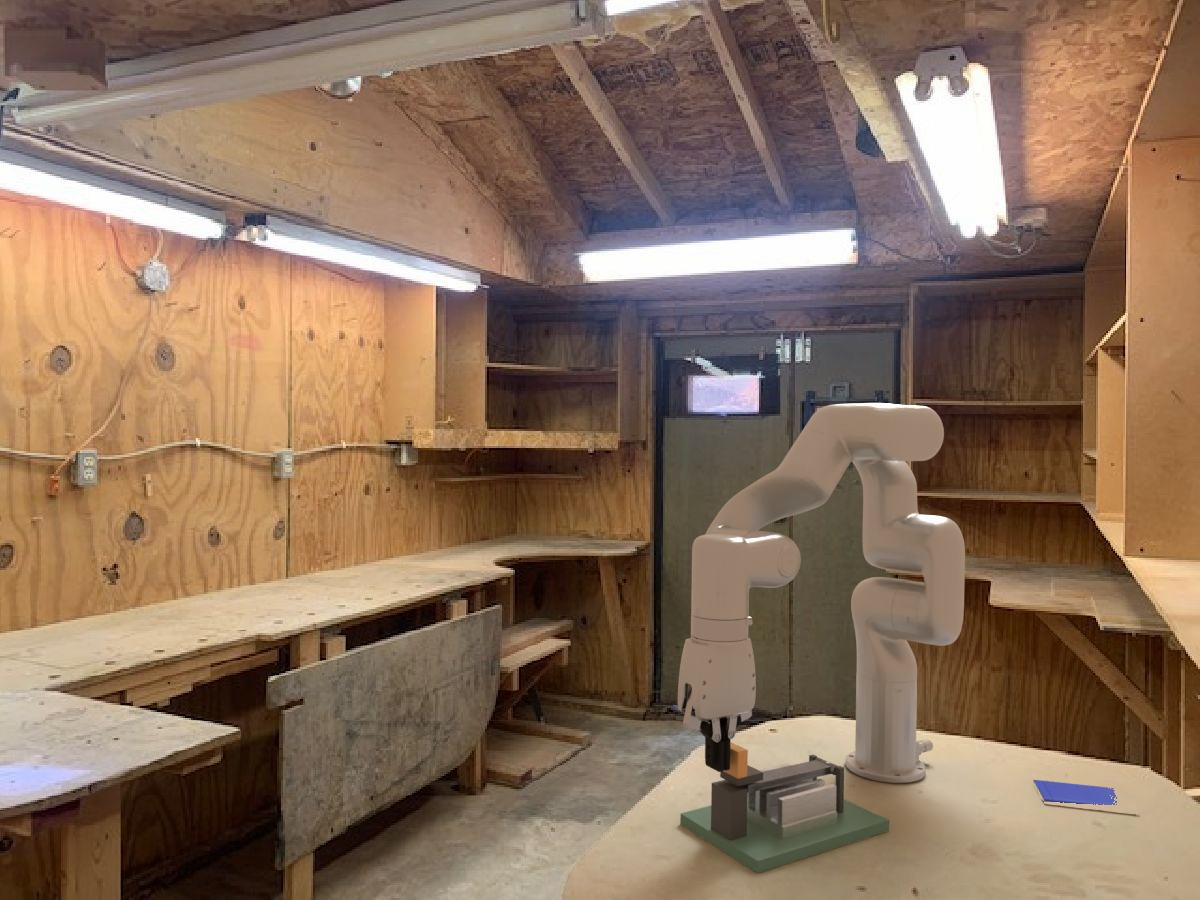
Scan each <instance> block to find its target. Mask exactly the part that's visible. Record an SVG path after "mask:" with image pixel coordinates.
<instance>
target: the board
mask: <svg viewBox="0 0 1200 900" xmlns="http://www.w3.org/2000/svg"><path fill="white" fill-rule="evenodd" d="M817 757H818V756H817V755H816V754H810V755H808V762H809V761H814V760H815V758H817ZM817 779H818V777H815V778H813V780H817ZM844 784H845V767H843V766H841V765H837V767H836V775H835V785H836V811H837V823H834V824H831V825H828V826H824V827H821V828H818V829H814V830H811V831H808V832H804V833H801V834H798V835H794V836H791V837H788V838H784V839H782V838H780V837H779V836H777V835H775V834H773V833H771V832H770V831H768V830H766V829H764V828H763V827H761V826H759V825H757V824H755V823H754V822H752V821H750V820H748V819H747V789H746V788H744V787H742V786H736V785H734V784H732V783H731V782H729V781H727V780H725V779H723V780H718V781H714V782H711V803H710V804H711V805H708V806H704V807H701V808H697V809H693V810H692V809H691V810H688V811H685V812H684V811H683V812H680V818H679V819H680V822H679V823H680V825H681V826H683V827H684V828H686V829H687V830H688V831H691V832H692V833H694V834H696V836H698V837H700V838H702V839H703V840H704V841H706V842H708V843H710V845H712V846H714V847H716V848H718V850H721V852H724V853H725V854H727V855H728V856H730V857H731V858H733V859H735V860H736V861H737V862H739V863H741V864H742V865H744V866H746V867H747V868H749V869H750V870H752V871H753V872H755V873H757V874H759V873H762V872H765V871H769V870H772V869H775V868H778V867H782V866H785V865H788V864H790V863H795V862H796V861H801V860H803V859H807V858H809V857H813V856H816V855H819V854H821V853H825V852H828V851H831V850H834V849H838V848H840V847H844V846H846V845H849V844H852V843H855V842H856V843H857V842H858V841H859V842H860V841H862V840H864V839H865V840H866V839H868V838H873V837H874V836H877V835H881V834H884V833H886V832H887V833H888V832H889V831H890V820H889V818H886V817H884V816H881V815H880V814H877V813H875V812H873V811H870V810H868V809H866V808H864V807H862V806H860V805H858V804H857V803H854V802H853V801H852V802H851V801H850V800H847V799H845V798H844V797H845V790H844V789H845V785H844Z"/></svg>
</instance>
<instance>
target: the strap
mask: <svg viewBox="0 0 1200 900" xmlns="http://www.w3.org/2000/svg"><path fill="white" fill-rule="evenodd" d="M790 765H791V766H786V767H782V768H777V769H772V770H768V771H763V780H761V781H757V782H753V783H749V784H745V785H741V786H742V787H744V788H746V789H747V793H750V792H755V791H759V790H763V789H768V788H772V787H776V786H781V785H785V784H789V783H794V782H798V781H802V780H807V779H811V778H815V777H817V778H819V777H823V776H828V775H833V776H836V767H837V766H838V765H837V764H835V763H832V762H830V761H828V760H826V759H823V758H821V757H818V756H817V758H815V760H814V761H809V760H808V761H806V762H800V763H796V764H790Z"/></svg>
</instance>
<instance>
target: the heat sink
mask: <svg viewBox="0 0 1200 900" xmlns="http://www.w3.org/2000/svg"><path fill="white" fill-rule="evenodd" d="M791 765H792V764H789V763H783V764H779V765H775V766H771V767H767V768H763V769H758V770H759V771H761V772H763V771H768V770H772V769H777V768H782V767H786V766H791ZM825 783H826V780H825V779H822V778H817V780H813V778H811V779H807V780H802V781H798V782H794V783H789V784H785V785H781V786H776V787H772V788H768V789H763V790H759V791H755V792H750V793H747V819H748V820H750V821H752V822H754V823H755V824H757V825H759V826H761V827H763V828H764V829H766V830H768V831H770V832H771V833H773V834H775V835H777V836H779V837H780V838H782V839H784V838H788V837H791V836H794V835H798V834H801V833H804V832H808V831H811V830H814V829H818V828H821V827H824V826H828V825H831V824H834V823H837V811H836V784H833V783H830V784H827V785H825Z"/></svg>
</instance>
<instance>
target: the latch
mask: <svg viewBox="0 0 1200 900" xmlns="http://www.w3.org/2000/svg"><path fill="white" fill-rule="evenodd" d="M748 752H749V750H748V749H746V748H744V747H743V746H740V745H738V744H736V743H733V742H730V769H729V770H726V771H725V770H723V771H722V772H719V773H720V776H719V778H721V779H723V780H727V781H729V782H731V783H732V784H734V785H736V786H741V785H745V784H749V783H753V782H757V781H761V780H763V772H761V771H759V770H760V769H757V768H755V767H754V766H751V765H749V764H748V754H749V753H748Z"/></svg>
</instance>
